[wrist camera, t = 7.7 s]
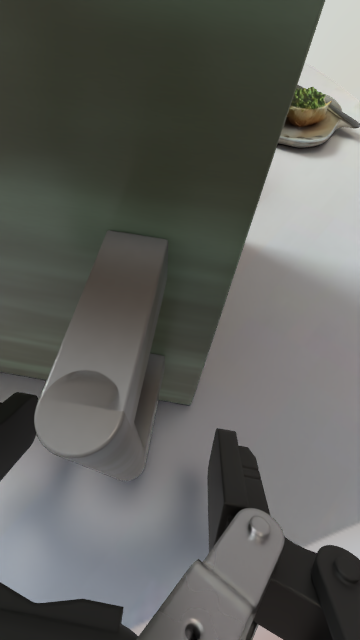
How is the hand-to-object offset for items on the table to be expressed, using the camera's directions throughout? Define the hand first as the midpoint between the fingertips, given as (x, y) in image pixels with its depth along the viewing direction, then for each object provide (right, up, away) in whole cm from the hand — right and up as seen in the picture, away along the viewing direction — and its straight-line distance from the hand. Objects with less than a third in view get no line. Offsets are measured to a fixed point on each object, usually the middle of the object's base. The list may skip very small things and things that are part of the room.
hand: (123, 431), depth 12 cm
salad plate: (+17, +36, +35) cm, 53 cm away
